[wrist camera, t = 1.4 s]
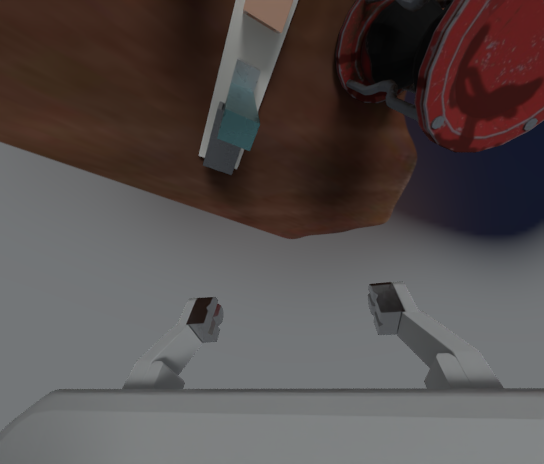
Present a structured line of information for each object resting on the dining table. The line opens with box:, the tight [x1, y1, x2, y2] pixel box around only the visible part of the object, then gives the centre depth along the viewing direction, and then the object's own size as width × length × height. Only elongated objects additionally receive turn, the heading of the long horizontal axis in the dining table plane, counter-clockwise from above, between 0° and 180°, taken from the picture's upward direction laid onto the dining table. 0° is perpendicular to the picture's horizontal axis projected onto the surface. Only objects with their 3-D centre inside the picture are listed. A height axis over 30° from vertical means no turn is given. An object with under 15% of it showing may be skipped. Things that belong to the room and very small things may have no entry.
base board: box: [199, 0, 298, 169], centre depth 38 cm, size 30×8×1 cm, turn 156°
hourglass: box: [335, 0, 544, 152], centre depth 28 cm, size 16×16×25 cm
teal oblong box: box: [217, 58, 261, 151], centre depth 32 cm, size 16×4×20 cm, turn 156°
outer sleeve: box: [203, 101, 241, 175], centre depth 40 cm, size 10×5×5 cm, turn 156°
